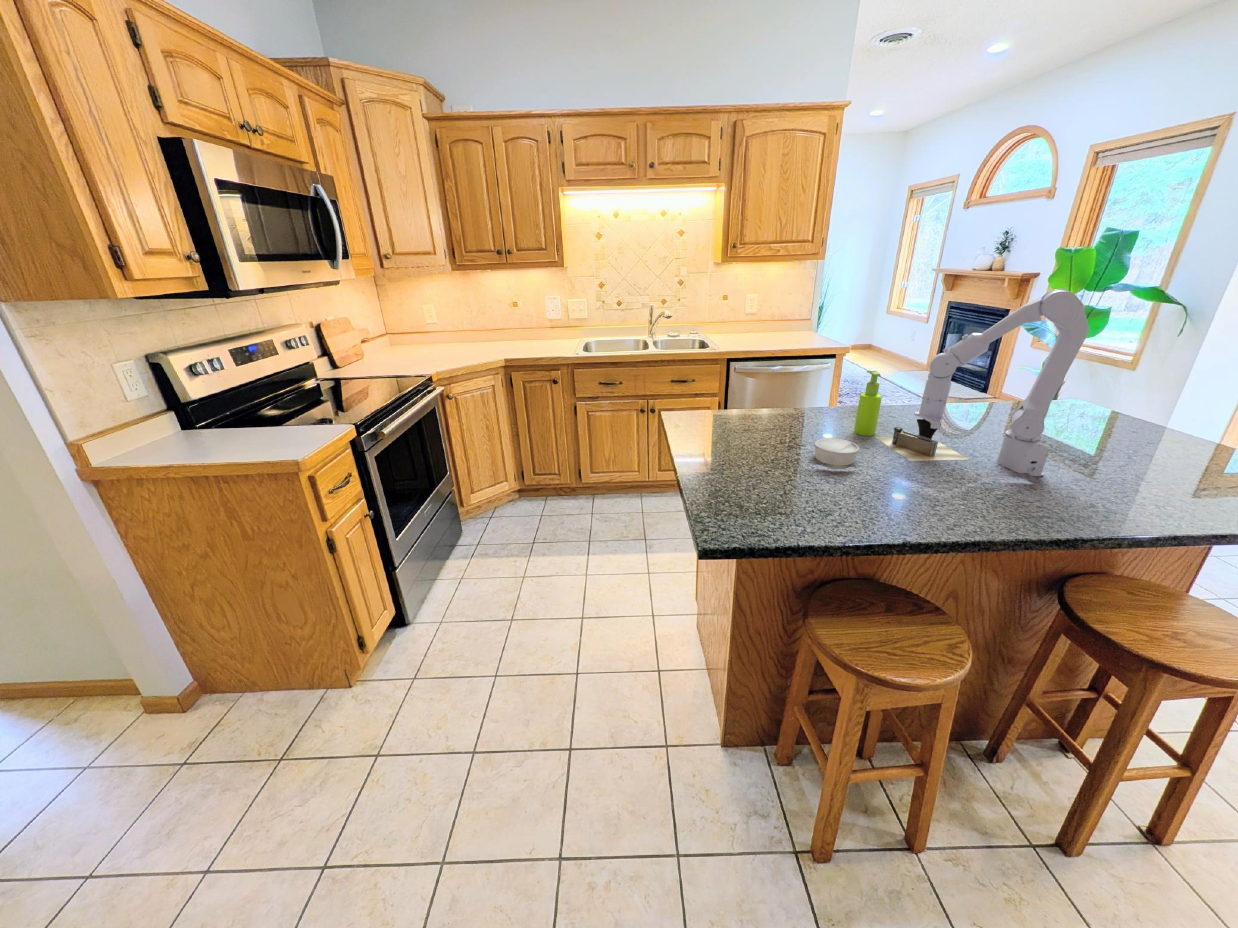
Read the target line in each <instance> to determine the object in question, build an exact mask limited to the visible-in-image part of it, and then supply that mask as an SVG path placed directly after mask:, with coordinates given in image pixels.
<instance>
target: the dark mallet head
mask: <svg viewBox="0 0 1238 928" xmlns="http://www.w3.org/2000/svg"><path fill="white" fill-rule="evenodd" d="M893 430H894V431H893V436H892V437H893V440H892V444H894V445H896V446H898V447H901V448H904V449H907V450H910V451H913V452H916V453H919V454H922V455H925V456H928V457H931V456H932V453H933V449H934V444H935V442H931V441H928V440H925V439H921V438H918V437H915V436H912V435H908V434H905V433H903V431H904V430H903V428H902V427H899V426H895V427H894V428H893Z"/></svg>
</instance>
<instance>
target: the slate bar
mask: <svg viewBox="0 0 1238 928" xmlns="http://www.w3.org/2000/svg"><path fill="white" fill-rule="evenodd" d="M902 433H905V434H908V435H912V436H915V437H918V438H921V439H925V440H928V441H931V442H935V444H934V449H933V453H932V455H935V453H936V449H937V445H938V442H939V440H936V439H934V438H932V439H930V438H926V437H923V436H920V435H919V434H916V433H914V432H910V431H907V430H902ZM933 439H934V440H933Z"/></svg>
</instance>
